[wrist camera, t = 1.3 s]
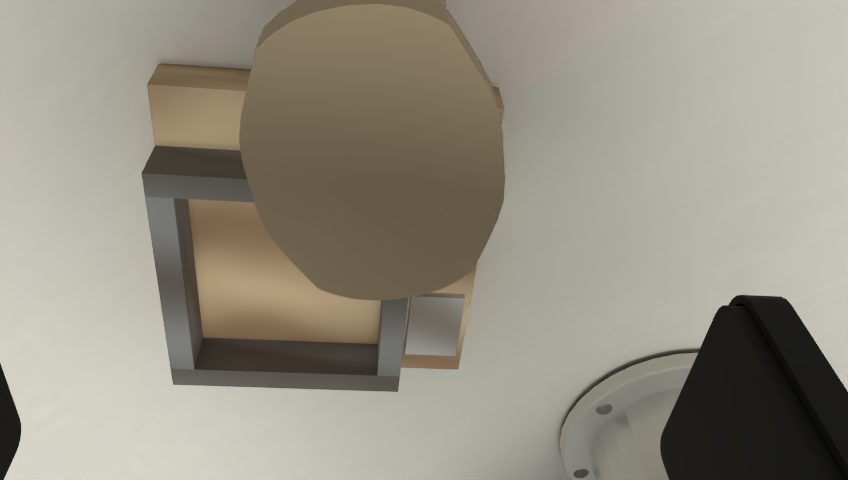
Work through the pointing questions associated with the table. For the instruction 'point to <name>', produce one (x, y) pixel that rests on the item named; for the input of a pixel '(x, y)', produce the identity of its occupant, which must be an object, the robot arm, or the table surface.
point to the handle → (373, 145)
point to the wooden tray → (263, 267)
